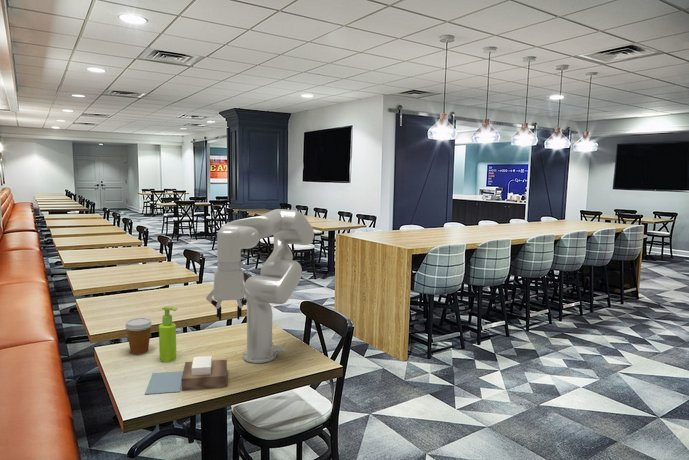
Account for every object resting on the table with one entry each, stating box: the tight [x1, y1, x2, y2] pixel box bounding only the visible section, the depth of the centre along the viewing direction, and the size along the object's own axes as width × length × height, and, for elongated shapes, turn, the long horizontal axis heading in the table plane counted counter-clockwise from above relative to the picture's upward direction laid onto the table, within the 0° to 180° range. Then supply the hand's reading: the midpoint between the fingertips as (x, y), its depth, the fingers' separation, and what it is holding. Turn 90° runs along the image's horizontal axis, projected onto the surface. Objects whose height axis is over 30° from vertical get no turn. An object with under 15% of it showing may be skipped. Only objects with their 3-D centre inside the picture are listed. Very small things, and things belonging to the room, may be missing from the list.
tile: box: [192, 355, 213, 375], centre depth 160 cm, size 6×9×2 cm, turn 13°
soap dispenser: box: [158, 306, 179, 363], centre depth 175 cm, size 6×7×20 cm
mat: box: [144, 370, 183, 396], centre depth 158 cm, size 10×15×1 cm
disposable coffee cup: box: [124, 317, 153, 356], centre depth 182 cm, size 10×10×12 cm
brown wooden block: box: [181, 359, 228, 391], centre depth 161 cm, size 14×13×4 cm
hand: (229, 318), depth 160 cm, fingers open, 5 cm apart
